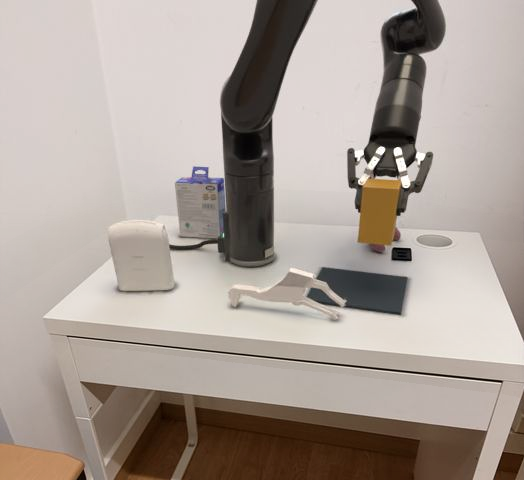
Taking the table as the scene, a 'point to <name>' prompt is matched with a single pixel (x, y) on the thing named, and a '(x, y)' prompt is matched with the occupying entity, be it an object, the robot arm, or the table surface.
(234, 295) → the llama figurine
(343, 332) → the table surface
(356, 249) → the table surface
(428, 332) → the table surface
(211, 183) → the ink cartridge box
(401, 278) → the mat
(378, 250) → the video game controller
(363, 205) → the block
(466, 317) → the table surface
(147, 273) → the photo printer
